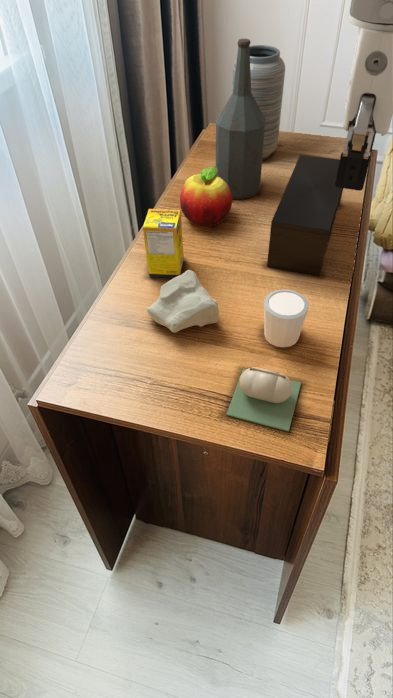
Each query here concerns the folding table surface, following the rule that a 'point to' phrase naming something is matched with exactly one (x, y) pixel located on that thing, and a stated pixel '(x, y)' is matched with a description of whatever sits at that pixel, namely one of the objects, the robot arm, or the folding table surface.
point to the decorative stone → (184, 304)
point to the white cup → (284, 317)
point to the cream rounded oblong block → (265, 385)
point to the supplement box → (163, 242)
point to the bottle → (240, 133)
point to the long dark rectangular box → (305, 216)
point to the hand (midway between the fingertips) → (353, 168)
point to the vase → (267, 90)
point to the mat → (264, 408)
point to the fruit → (206, 198)
